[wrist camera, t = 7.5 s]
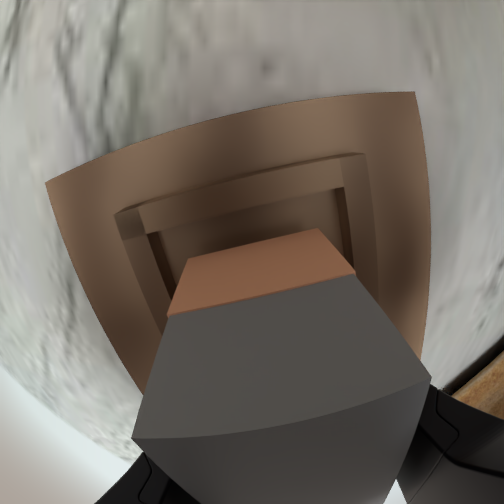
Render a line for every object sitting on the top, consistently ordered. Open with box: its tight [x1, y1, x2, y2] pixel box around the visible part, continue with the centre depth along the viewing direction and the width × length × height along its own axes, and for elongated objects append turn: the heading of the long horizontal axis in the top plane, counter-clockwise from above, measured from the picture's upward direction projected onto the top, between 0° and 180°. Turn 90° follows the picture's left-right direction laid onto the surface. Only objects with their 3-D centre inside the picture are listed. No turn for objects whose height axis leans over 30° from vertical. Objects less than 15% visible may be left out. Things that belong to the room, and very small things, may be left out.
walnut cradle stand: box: [45, 92, 431, 395], centre depth 13 cm, size 16×16×4 cm
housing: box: [131, 228, 432, 504], centre depth 8 cm, size 7×4×7 cm, turn 13°
